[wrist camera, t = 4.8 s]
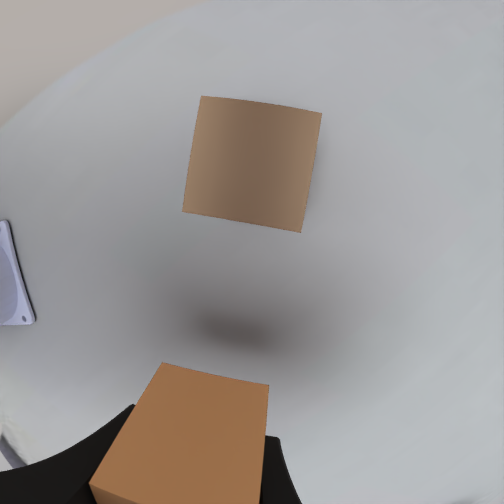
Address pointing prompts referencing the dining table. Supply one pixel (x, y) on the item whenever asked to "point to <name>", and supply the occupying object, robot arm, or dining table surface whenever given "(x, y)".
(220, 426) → the orange block
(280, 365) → the dining table surface
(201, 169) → the walnut block
